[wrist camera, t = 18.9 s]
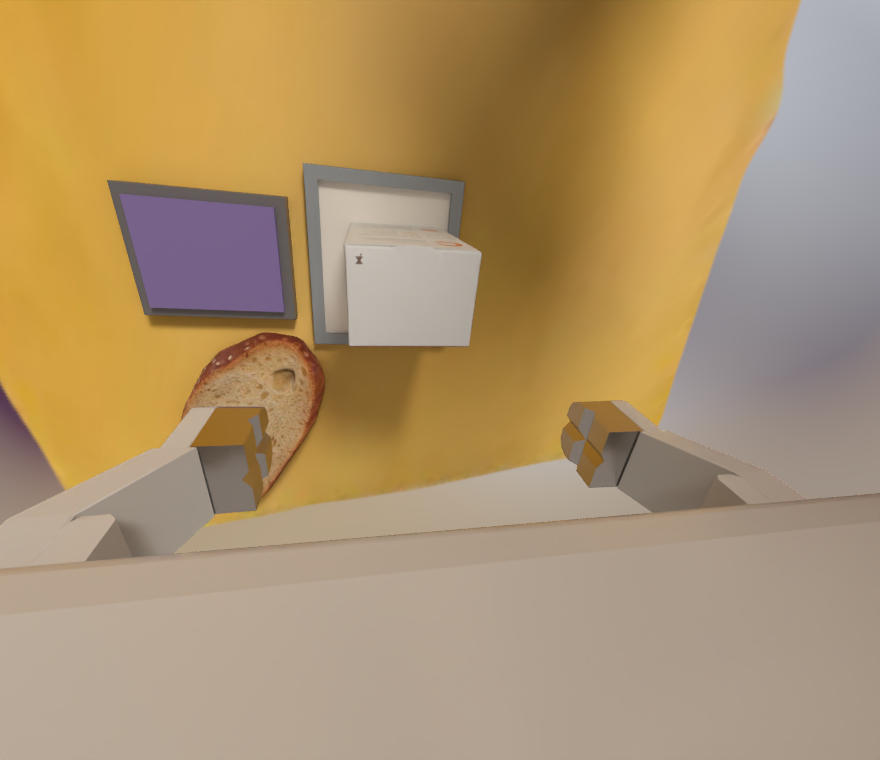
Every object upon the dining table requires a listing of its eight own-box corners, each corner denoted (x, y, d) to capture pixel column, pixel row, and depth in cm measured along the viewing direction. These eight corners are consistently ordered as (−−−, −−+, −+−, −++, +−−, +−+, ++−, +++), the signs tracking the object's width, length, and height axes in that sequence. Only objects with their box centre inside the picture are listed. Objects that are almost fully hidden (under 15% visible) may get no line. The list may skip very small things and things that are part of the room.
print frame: (462, 181, 32) (465, 181, 31) (445, 343, 38) (447, 346, 38) (304, 163, 29) (303, 163, 28) (315, 340, 36) (314, 343, 35)
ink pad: (287, 196, 30) (283, 197, 28) (297, 315, 34) (294, 321, 33) (117, 180, 27) (102, 180, 26) (151, 310, 32) (141, 316, 30)
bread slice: (230, 506, 43) (219, 532, 40) (120, 383, 35) (94, 403, 31) (371, 453, 44) (372, 474, 40) (298, 317, 35) (291, 331, 32)
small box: (351, 294, 34) (345, 348, 23) (349, 220, 31) (341, 240, 20) (437, 297, 36) (471, 348, 24) (442, 227, 33) (483, 248, 21)
